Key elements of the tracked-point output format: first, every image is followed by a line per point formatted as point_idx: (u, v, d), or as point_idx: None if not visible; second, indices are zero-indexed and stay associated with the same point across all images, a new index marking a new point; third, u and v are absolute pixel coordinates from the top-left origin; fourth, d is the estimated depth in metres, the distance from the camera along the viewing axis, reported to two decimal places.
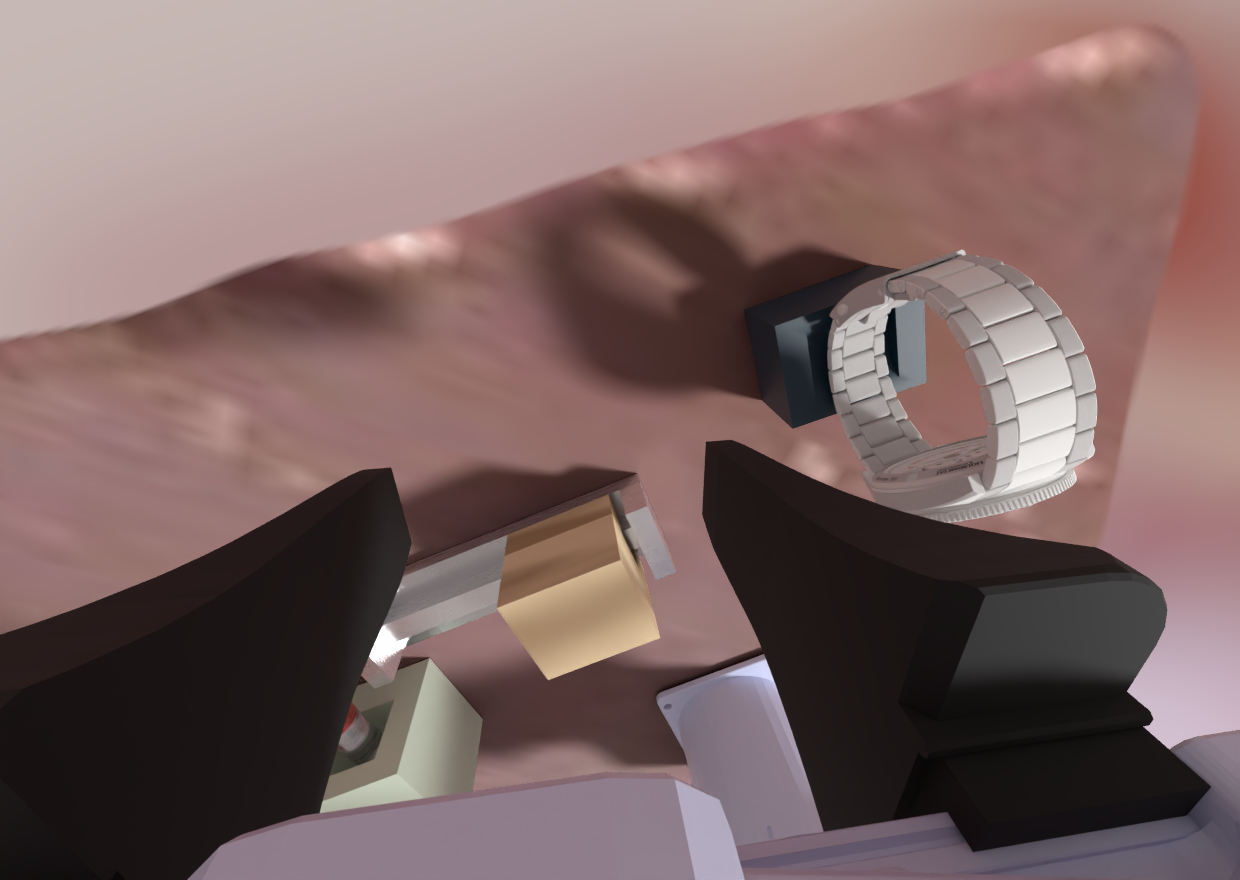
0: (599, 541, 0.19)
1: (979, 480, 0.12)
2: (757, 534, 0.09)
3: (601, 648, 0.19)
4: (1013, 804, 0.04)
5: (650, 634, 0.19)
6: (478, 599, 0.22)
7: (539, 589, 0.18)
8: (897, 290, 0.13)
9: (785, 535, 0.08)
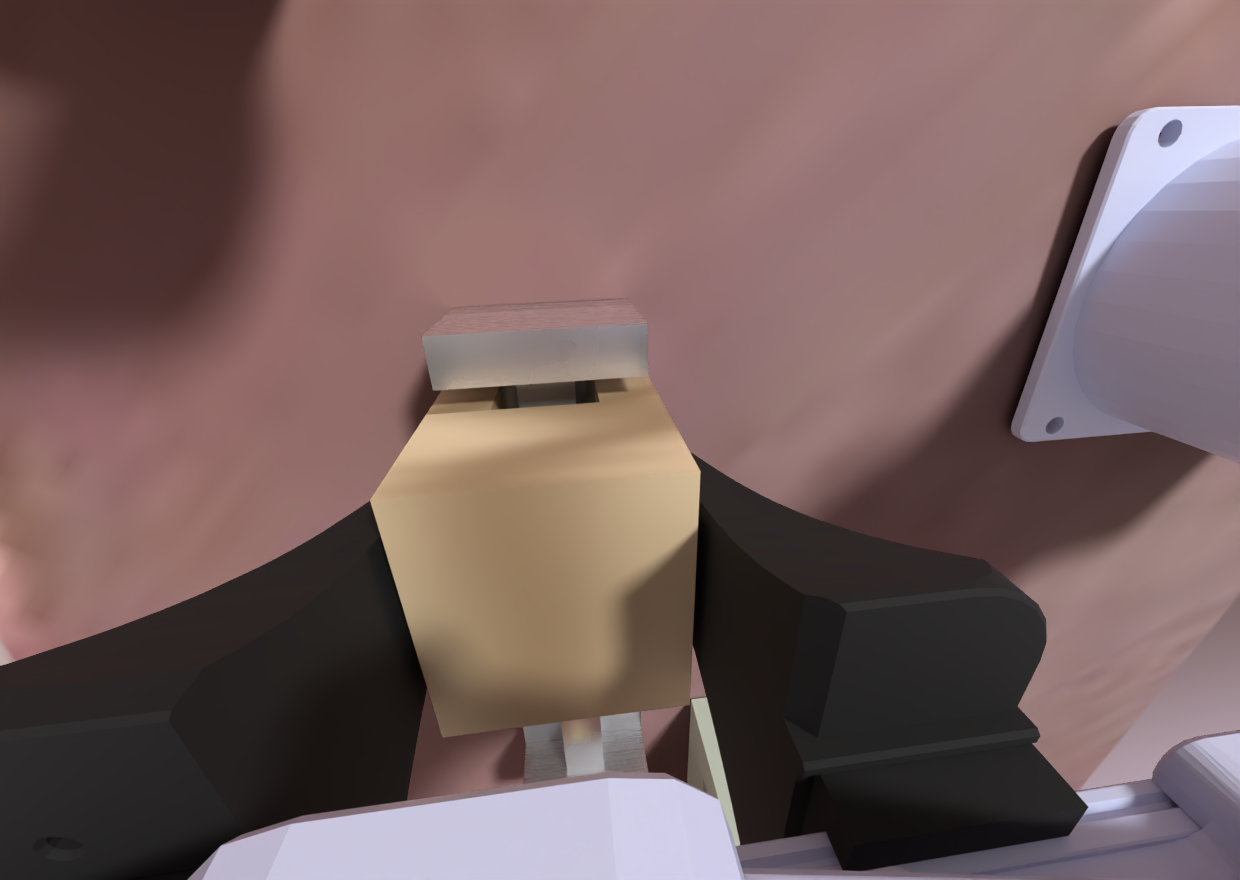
0: None
1: None
2: None
3: (658, 600, 0.08)
4: (883, 825, 0.04)
5: (675, 490, 0.07)
6: None
7: (423, 662, 0.08)
8: None
9: (707, 543, 0.07)
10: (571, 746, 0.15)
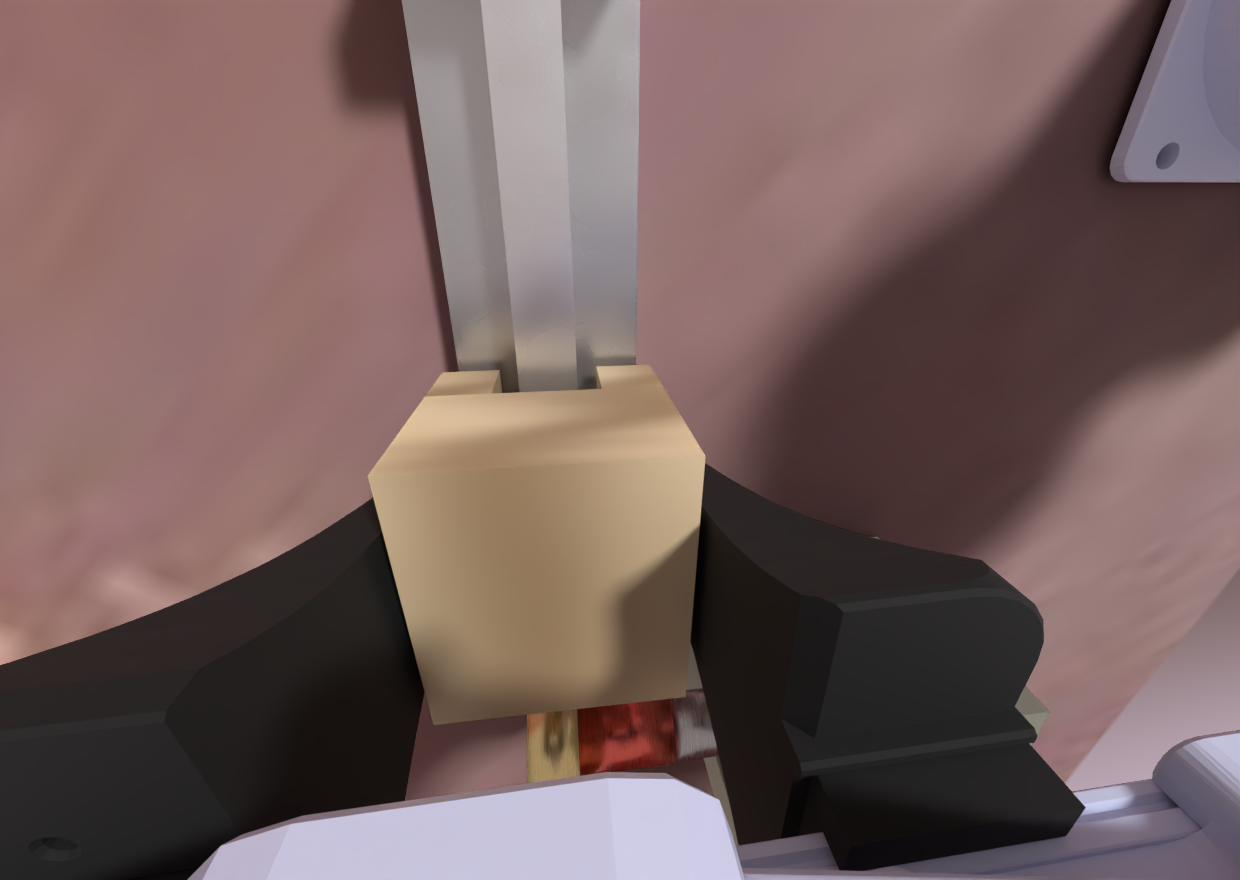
0: None
1: None
2: None
3: (658, 589, 0.08)
4: (879, 826, 0.04)
5: (678, 475, 0.07)
6: None
7: (416, 647, 0.08)
8: None
9: (705, 543, 0.07)
10: None
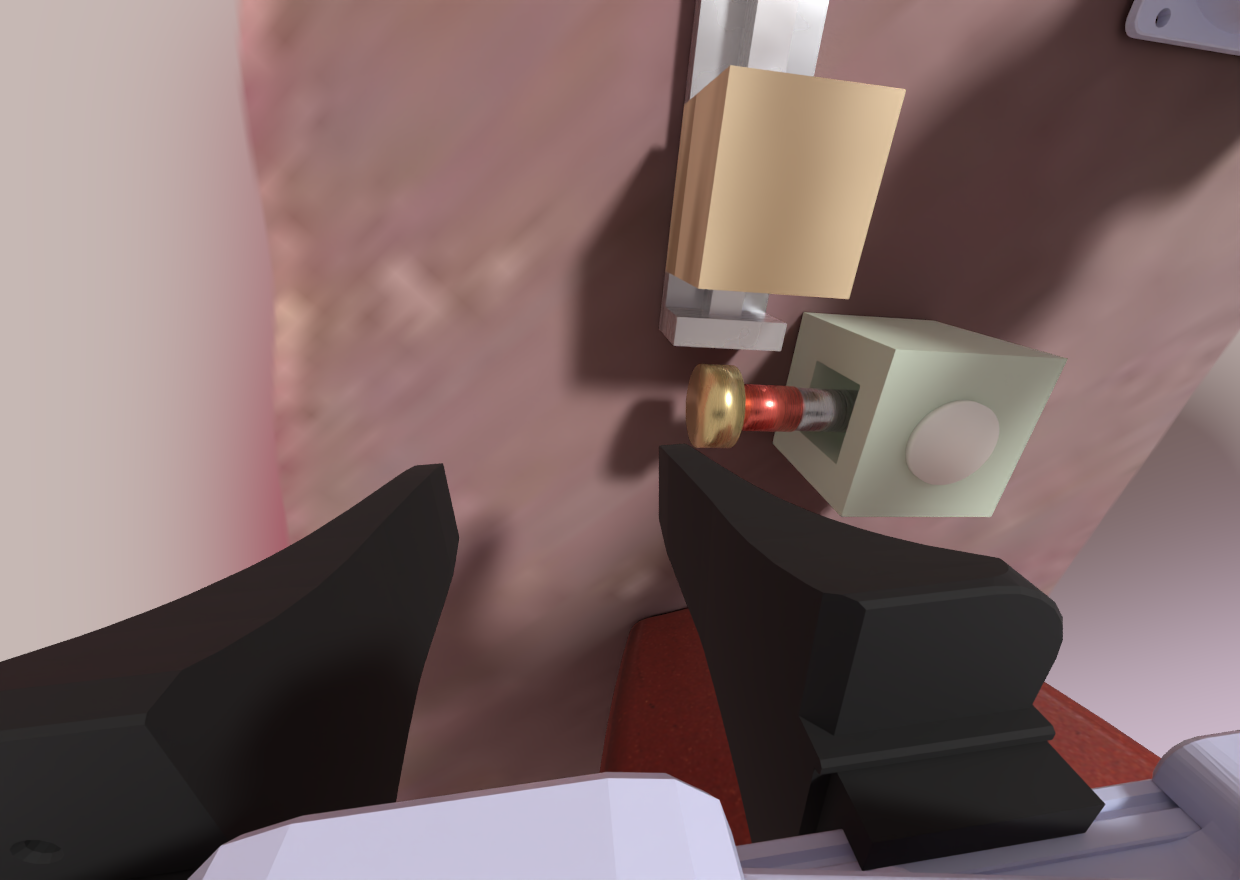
0: (707, 113, 0.13)
1: None
2: (698, 541, 0.09)
3: (856, 194, 0.13)
4: (901, 822, 0.04)
5: (888, 101, 0.12)
6: None
7: (706, 219, 0.13)
8: None
9: (718, 542, 0.07)
10: None
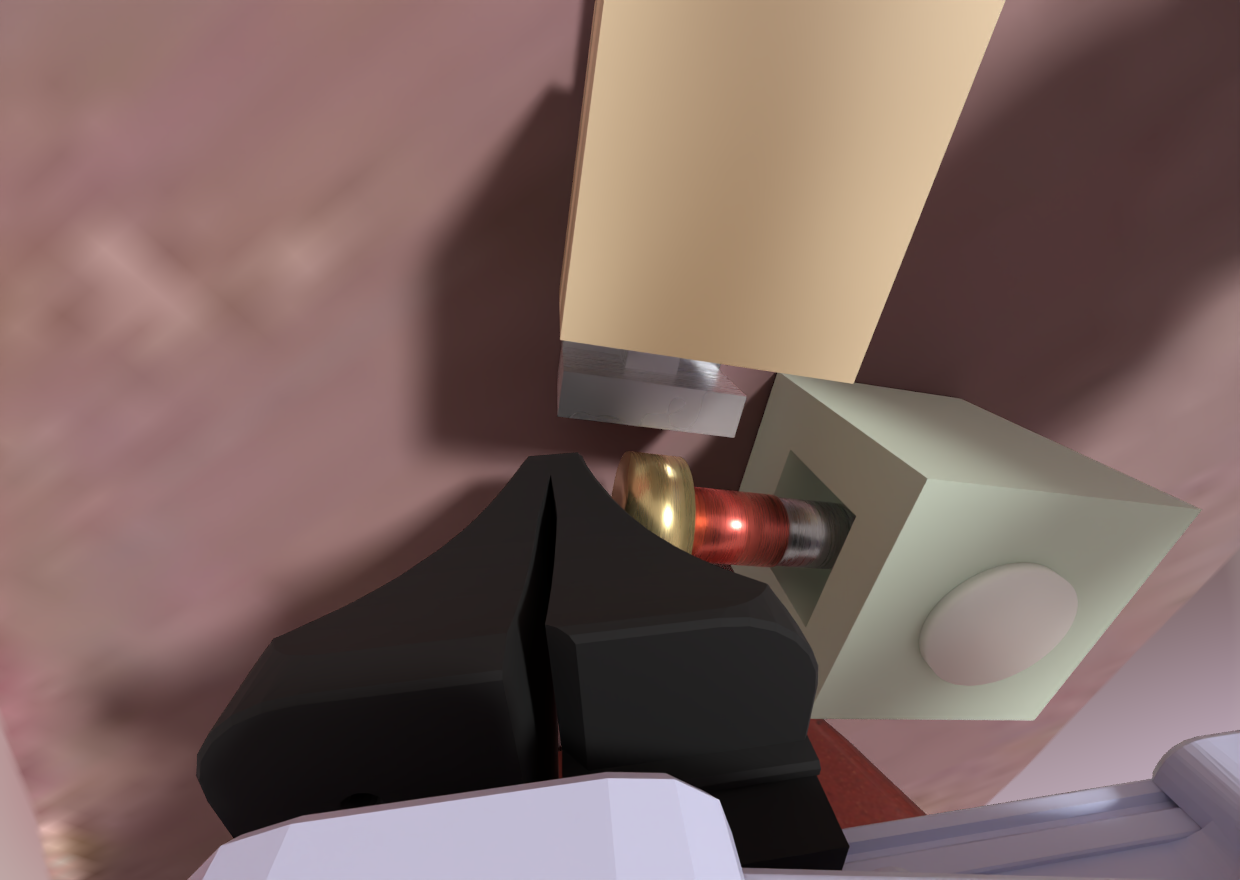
0: None
1: None
2: None
3: (890, 183, 0.06)
4: None
5: None
6: None
7: (578, 200, 0.06)
8: None
9: None
10: None
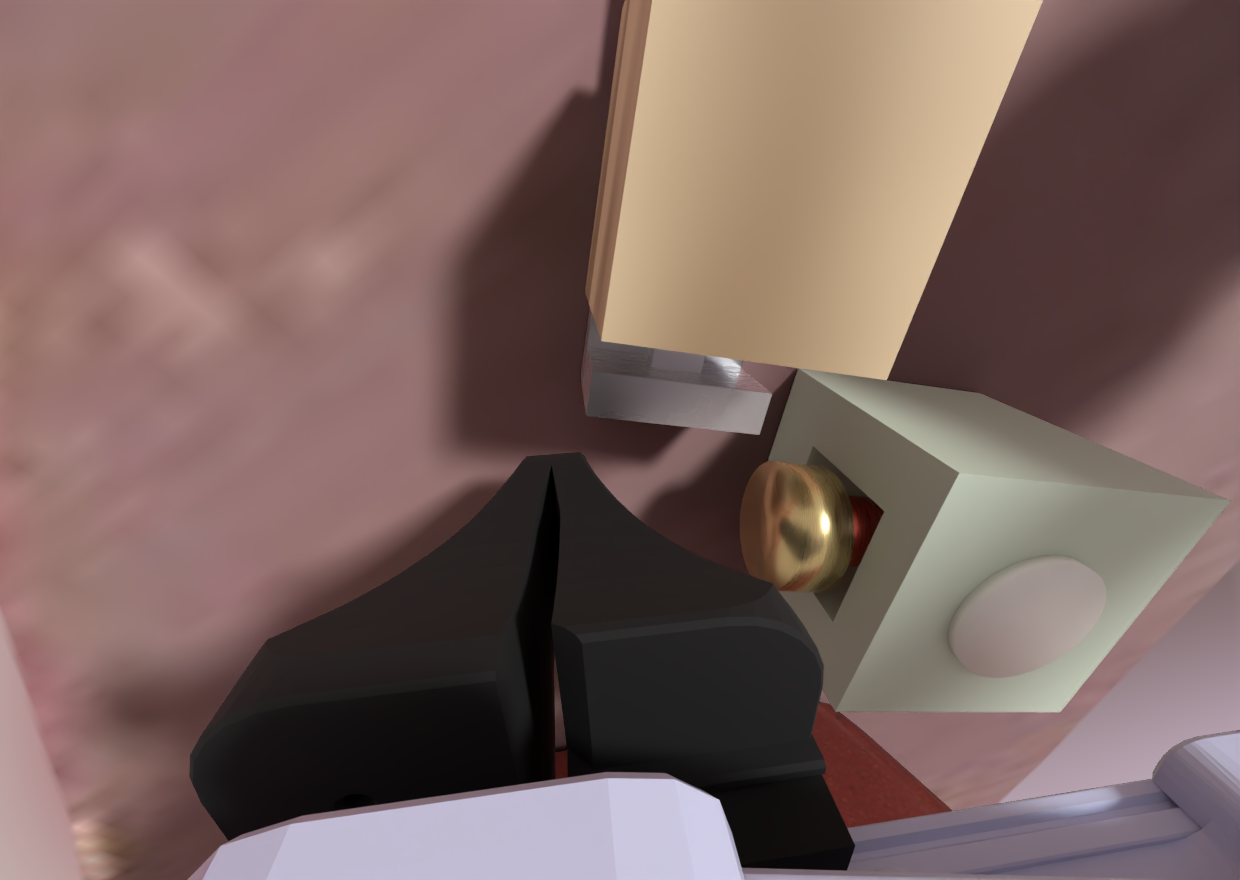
0: None
1: None
2: None
3: (926, 182, 0.06)
4: None
5: None
6: None
7: (620, 203, 0.06)
8: None
9: None
10: None
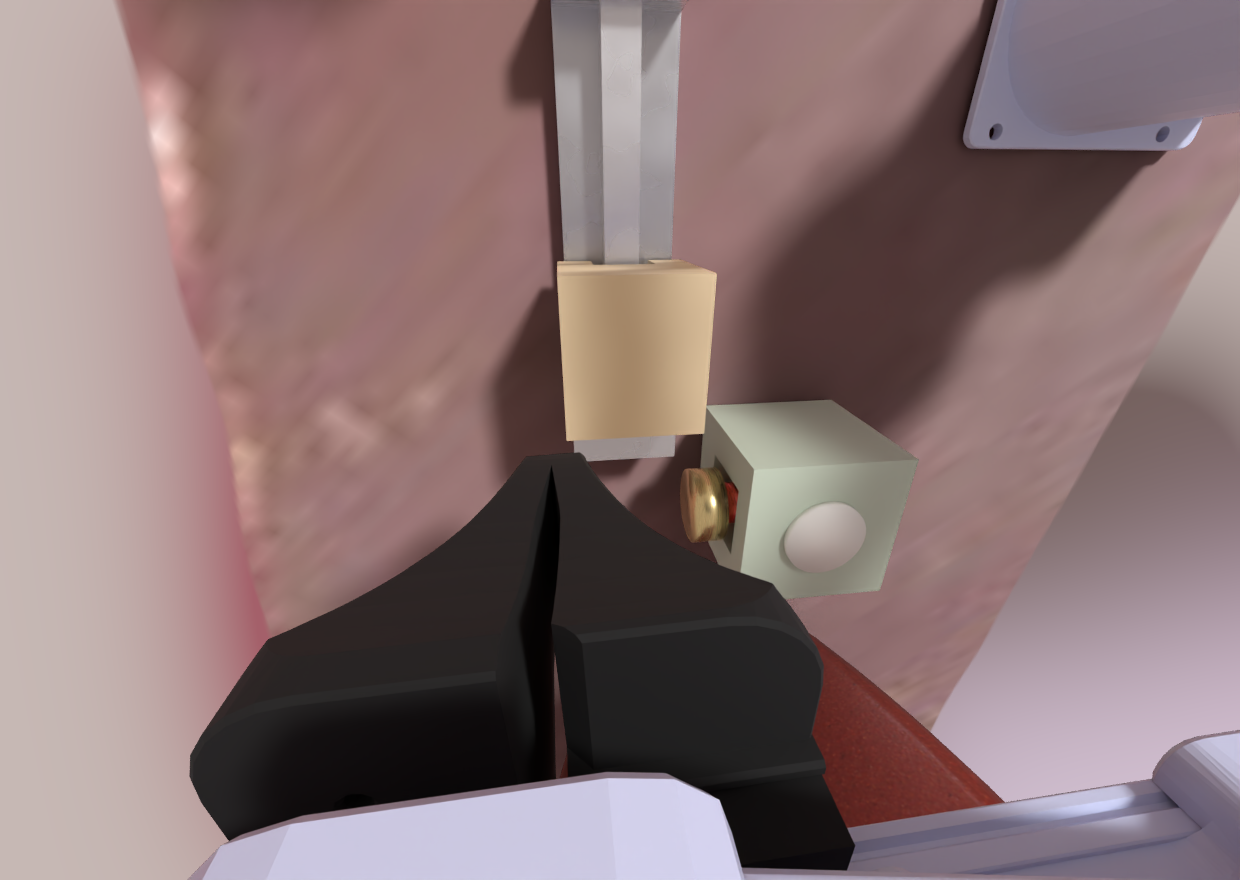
0: None
1: None
2: None
3: (691, 355, 0.14)
4: None
5: (703, 284, 0.14)
6: None
7: None
8: None
9: None
10: None
